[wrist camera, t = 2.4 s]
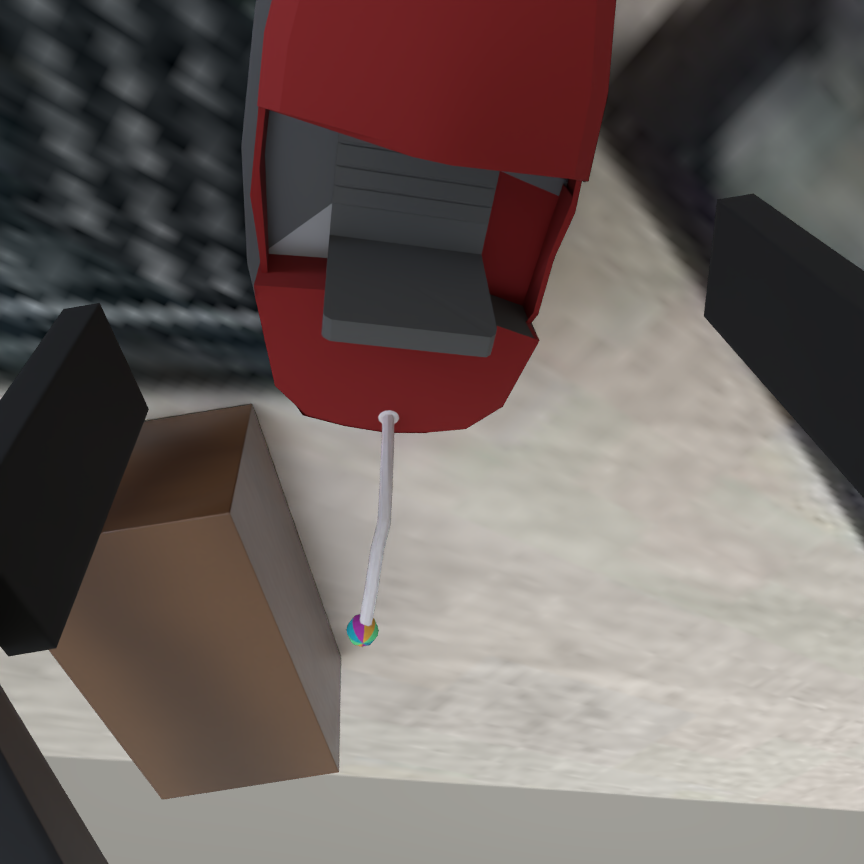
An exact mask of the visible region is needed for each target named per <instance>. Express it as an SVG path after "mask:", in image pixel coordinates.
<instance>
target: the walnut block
mask: <svg viewBox="0 0 864 864" xmlns="http://www.w3.org/2000/svg"><path fill="white" fill-rule="evenodd" d="M49 651H50V652H51V654H52V655H53V656H54V658H55V659H56V660H57V662H58V663H59V664H60V666H61V667H62V668H63V670H64V671H65V672H66V673H67V675H68V676H69V677H70V679H71V680H72V681H73V683H74V684H75V685H76V687H77V688H78V689H79V691H80V692H81V693H82V695H83V696H84V697H85V699H86V700H87V701H88V702H89V704H90V705H91V706H92V708H93V709H94V710H95V712H96V713H97V714H98V716H99V717H100V718H101V720H102V721H103V722H104V724H105V725H106V726H107V728H108V729H109V730H110V731H111V733H112V734H113V735H114V737H115V738H116V739H117V741H118V742H119V743H120V745H121V746H122V747H123V749H124V750H125V751H126V753H127V754H128V755H129V757H130V758H131V759H132V760H133V762H134V763H135V764H136V766H137V767H138V768H139V770H140V771H141V772H142V774H143V775H144V776H145V778H146V779H147V780H148V781H149V783H150V784H151V786H152V787H153V788H154V789H155V791H156V792H157V793H158V795H159V796H160V797H161V799H169V798H176V797H182V796H189V795H194V794H201V793H208V792H214V791H220V790H227V789H233V788H240V787H247V786H253V785H260V784H266V783H272V782H279V781H285V780H291V779H298V778H304V777H311V776H317V775H324V774H330V773H337V772H339V744H340V691H341V656H340V653H339V651H338V648H337V645H336V642H335V639H334V636H333V633H332V631H331V628H330V625H329V622H328V619H327V616H326V613H325V611H324V608H323V605H322V602H321V599H320V596H319V594H318V591H317V588H316V585H315V582H314V579H313V576H312V574H311V571H310V568H309V565H308V562H307V559H306V556H305V554H304V551H303V548H302V545H301V542H300V539H299V536H298V534H297V531H296V528H295V525H294V522H293V519H292V516H291V514H290V511H289V508H288V505H287V502H286V499H285V496H284V494H283V491H282V488H281V485H280V482H279V479H278V476H277V474H276V471H275V468H274V465H273V462H272V459H271V456H270V454H269V451H268V448H267V445H266V442H265V439H264V437H263V434H262V431H261V428H260V425H259V422H258V419H257V417H256V414H255V411H254V408H253V405H252V404H250V405H244V406H237V407H231V408H225V409H219V410H212V411H206V412H200V413H194V414H188V415H181V416H175V417H169V418H163V419H156V420H150V421H144V423H143V425H142V428H141V431H140V433H139V436H138V438H137V441H136V444H135V446H134V449H133V451H132V454H131V456H130V459H129V462H128V464H127V467H126V469H125V472H124V475H123V477H122V480H121V482H120V485H119V488H118V490H117V493H116V495H115V498H114V500H113V503H112V506H111V508H110V511H109V513H108V516H107V519H106V521H105V524H104V526H103V529H102V532H101V534H100V537H99V539H98V542H97V544H96V547H95V550H94V552H93V555H92V557H91V560H90V563H89V565H88V568H87V570H86V573H85V575H84V578H83V581H82V583H81V586H80V588H79V591H78V594H77V596H76V599H75V601H74V604H73V607H72V609H71V612H70V614H69V617H68V619H67V622H66V625H65V627H64V630H63V632H62V635H61V638H60V640H59V643H58V645H57V648H55V649H49Z"/></svg>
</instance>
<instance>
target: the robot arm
mask: <svg viewBox="0 0 864 864" xmlns="http://www.w3.org/2000/svg"><path fill="white" fill-rule="evenodd" d="M704 317H705V318H706V319H707V320H708V321H709V323H710V324H711V325H712V326H713V327H714V328H715V329H716V331H717V332H718V333H719V334H720V335H721V336H722V337H723V338H724V340H725V341H726V342H727V343H728V344H729V345H730V346H731V348H732V349H733V350H734V351H735V352H736V353H737V354H738V356H739V357H740V358H741V359H742V360H743V361H744V362H745V363H746V365H747V366H748V367H749V368H750V369H751V370H752V371H753V373H754V374H755V375H756V376H757V377H758V378H759V379H760V381H761V382H762V383H763V384H764V385H765V386H766V387H767V388H768V390H769V391H770V392H771V393H772V394H773V395H774V396H775V398H776V399H777V400H778V401H779V402H780V403H781V404H782V406H783V407H784V408H785V409H786V410H787V411H788V412H789V414H790V415H791V416H792V417H793V418H794V419H795V420H796V421H797V423H798V424H799V425H800V426H801V427H802V428H803V429H804V431H805V432H806V433H807V434H808V435H809V436H810V437H811V439H812V440H813V441H814V442H815V443H816V444H817V445H818V446H819V448H820V449H821V450H822V451H823V452H824V453H825V454H826V456H827V457H828V458H829V459H830V460H831V461H832V462H833V464H834V465H835V466H836V467H837V468H838V469H839V470H840V472H841V473H842V474H843V475H844V476H845V477H846V478H847V479H848V481H849V482H850V483H851V484H852V485H853V486H854V487H855V489H856V490H857V491H858V492H859V493H860V494H861V495H862V497H863V498H864V271H863V270H861V269H860V268H859V267H857V266H856V265H854V264H853V263H851V262H850V261H849V260H847V259H846V258H844V257H843V256H841V255H840V254H839V253H837V252H836V251H834V250H833V249H831V248H830V247H829V246H827V245H826V244H824V243H823V242H821V241H820V240H819V239H817V238H816V237H814V236H813V235H811V234H810V233H809V232H807V231H806V230H804V229H803V228H801V227H800V226H799V225H797V224H796V223H794V222H793V221H792V220H790V219H789V218H787V217H786V216H784V215H783V214H782V213H780V212H779V211H777V210H776V209H774V208H773V207H772V206H770V205H769V204H767V203H766V202H764V201H763V200H762V199H760V198H759V197H757V196H756V195H754V194H748V195H742V196H736V197H730V198H724V199H718V200H717V206H716V215H715V224H714V232H713V241H712V250H711V258H710V267H709V276H708V285H707V293H706V302H705V311H704ZM148 410H149V409H148V406H147V404H146V402H145V400H144V398H143V396H142V393H141V391H140V389H139V387H138V385H137V383H136V381H135V378H134V376H133V374H132V372H131V370H130V368H129V365H128V363H127V361H126V359H125V357H124V355H123V353H122V350H121V348H120V346H119V344H118V342H117V340H116V337H115V335H114V333H113V331H112V329H111V327H110V325H109V322H108V320H107V318H106V316H105V314H104V312H103V309H102V307H101V305H100V303H97V304H91V305H85V306H79V307H73V308H67V309H63V311H62V312H61V313H60V315H59V316H58V318H57V319H56V321H55V322H54V324H53V325H52V326H51V328H50V329H49V331H48V332H47V334H46V335H45V337H44V338H43V339H42V341H41V342H40V344H39V345H38V347H37V348H36V349H35V351H34V352H33V354H32V355H31V357H30V358H29V360H28V361H27V362H26V364H25V365H24V367H23V368H22V370H21V371H20V373H19V374H18V375H17V377H16V378H15V380H14V381H13V383H12V384H11V386H10V387H9V388H8V390H7V391H6V393H5V394H4V396H3V397H2V398H1V400H0V647H1V648H2V649H3V650H4V651H5V653H6V654H7V655H8V656H14V655H19V654H25V653H31V652H37V651H43V650H49V649H55V648H57V645H58V643H59V640H60V638H61V635H62V632H63V630H64V627H65V625H66V622H67V619H68V617H69V614H70V612H71V609H72V607H73V604H74V601H75V599H76V596H77V594H78V591H79V588H80V586H81V583H82V581H83V578H84V575H85V573H86V570H87V568H88V565H89V563H90V560H91V557H92V555H93V552H94V550H95V547H96V544H97V542H98V539H99V537H100V534H101V532H102V529H103V526H104V524H105V521H106V519H107V516H108V513H109V511H110V508H111V506H112V503H113V500H114V498H115V495H116V493H117V490H118V488H119V485H120V482H121V480H122V477H123V475H124V472H125V469H126V467H127V464H128V462H129V459H130V456H131V454H132V451H133V449H134V446H135V444H136V441H137V438H138V436H139V433H140V431H141V428H142V425H143V423H144V420H145V418H146V415H147V412H148ZM0 864H108V862H107V861H106V859H105V857H104V856H103V854H102V852H101V851H100V849H99V847H98V846H97V844H96V842H95V841H94V839H93V837H92V836H91V834H90V832H89V831H88V829H87V827H86V826H85V824H84V822H83V821H82V819H81V817H80V816H79V814H78V813H77V811H76V809H75V808H74V806H73V804H72V803H71V801H70V799H69V798H68V796H67V794H66V793H65V791H64V789H63V788H62V786H61V784H60V783H59V781H58V779H57V778H56V776H55V775H54V773H53V771H52V770H51V768H50V767H49V765H48V763H47V761H46V760H45V758H44V756H43V755H42V753H41V751H40V750H39V748H38V746H37V745H36V743H35V741H34V740H33V738H32V736H31V735H30V733H29V731H28V730H27V728H26V727H25V725H24V723H23V722H22V720H21V718H20V717H19V715H18V713H17V712H16V710H15V708H14V707H13V705H12V703H11V702H10V700H9V698H8V697H7V695H6V693H5V692H4V690H3V688H2V687H1V685H0Z"/></svg>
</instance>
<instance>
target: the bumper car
mask: <svg viewBox="0 0 864 864" xmlns="http://www.w3.org/2000/svg"><path fill="white" fill-rule="evenodd" d="M615 8H616V0H256V5H255V12H254V22H253V32H252V43H251V53H250V63H249V73H248V84H247V94H246V104H245V115H244V125H243V135H242V145H241V148H242V169H243V189H244V209H245V229H246V249H247V264H248V268H249V273H250V277H251V281H252V285H253V290H254V294H255V298H256V302H257V307H258V311H259V316H260V320H261V325H262V329H263V334H264V338H265V343H266V347H267V352H268V356H269V361H270V365H271V369H272V374H273V378H274V383H275V386H276V387H277V388H278V389H279V390H280V391H281V392H282V393H283V394H284V395H285V396H286V397H288V398H289V399H290V400H291V401H292V402H293V403H294V404H295V405H296V406H297V408H298V409H299V411H300V412H301V413H302V415H304V416H308V417H312V418H316V419H319V420H323V421H327V422H331V423H335V424H339V425H343V426H348V427H354V428H360V429H366V430H373V431H379V432H382V446H381V468H380V490H379V507H378V522H377V526H376V529H375V533H374V537H373V541H372V545H371V549H370V556H369V563H368V570H367V577H366V584H365V590H364V596H363V602H362V608H361V614H360V615H355V616H354V618H353V619H352V620H351V621H350V622H349V624H348V626H347V629H346V630H347V634H348V636H349V638H350V640H351V642H352V643H353V644H354V645H357V646H361V647H363V646H367V645H370V644H371V643H372V642H373V641H374V640H375V638H376V637H377V636H378V631H379V630H378V626H377V624H376V622H375V619H374V618H373V615H374V609H375V604H376V598H377V593H378V586H379V580H380V573H381V566H382V560H383V553H384V548H385V544H386V540H387V536H388V532H389V529H390V525H391V508H392V488H393V458H394V433H428V432H438V431H449V430H460V429H467V428H468V427H470V426H472V425H473V424H475V423H476V422H478V421H480V420H481V419H483V418H485V417H486V416H488V415H490V414H491V413H493V412H495V411H496V410H498V409H499V408H501V407H503V405H504V403H505V402H506V400H507V398H508V396H509V394H510V393H511V391H512V389H513V387H514V385H515V384H516V382H517V380H518V378H519V376H520V375H521V373H522V371H523V369H524V367H525V366H526V364H527V362H528V360H529V358H530V357H531V355H532V353H533V351H534V349H535V348H536V346H537V344H538V342H539V338H538V336H537V334H536V332H535V329H534V327H533V325H532V322H533V320H534V319H535V318H536V316H537V315H538V313H539V309H540V306H541V303H542V299H543V296H544V292H545V289H546V285H547V282H548V278H549V275H550V271H551V268H552V264H553V261H554V259H555V256H556V253H557V251H558V249H559V247H560V245H561V242H562V240H563V238H564V236H565V234H566V232H567V229H568V227H569V225H570V223H571V221H572V218H573V216H574V214H575V211H576V206H577V202H578V197H579V192H580V188H581V183H582V181H583V182H586V181H589V177H590V172H591V168H592V163H593V159H594V154H595V150H596V145H597V141H598V136H599V132H600V127H601V123H602V118H603V114H604V110H605V105H606V101H607V96H608V88H609V76H610V65H611V54H612V42H613V31H614V19H615Z"/></svg>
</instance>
